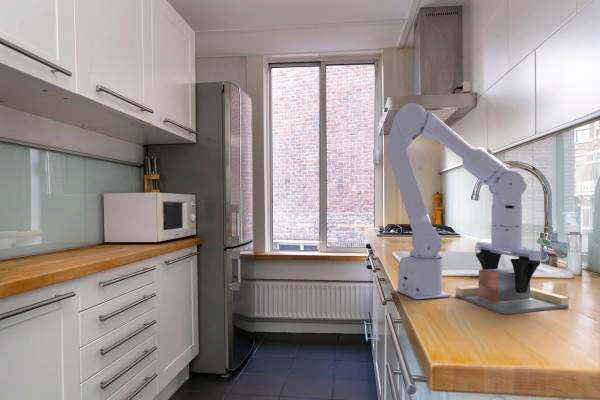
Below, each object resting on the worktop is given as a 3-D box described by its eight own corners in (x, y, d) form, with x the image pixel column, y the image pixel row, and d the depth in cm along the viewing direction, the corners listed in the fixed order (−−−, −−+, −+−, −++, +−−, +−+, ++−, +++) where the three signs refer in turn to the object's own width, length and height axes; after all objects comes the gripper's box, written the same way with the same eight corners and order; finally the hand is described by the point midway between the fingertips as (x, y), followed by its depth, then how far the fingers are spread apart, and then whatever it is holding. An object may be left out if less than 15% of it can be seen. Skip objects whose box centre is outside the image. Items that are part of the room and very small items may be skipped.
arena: (504, 314, 66) (504, 303, 66) (455, 296, 79) (455, 287, 79) (568, 307, 71) (568, 297, 71) (513, 291, 84) (513, 282, 84)
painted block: (529, 299, 75) (530, 271, 75) (493, 302, 72) (493, 273, 72) (513, 294, 79) (514, 267, 79) (478, 297, 76) (478, 269, 76)
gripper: (552, 228, 70) (551, 295, 70) (493, 223, 84) (492, 279, 84) (525, 228, 68) (525, 297, 68) (469, 223, 82) (469, 281, 82)
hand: (505, 287), depth 75 cm, fingers open, 7 cm apart
